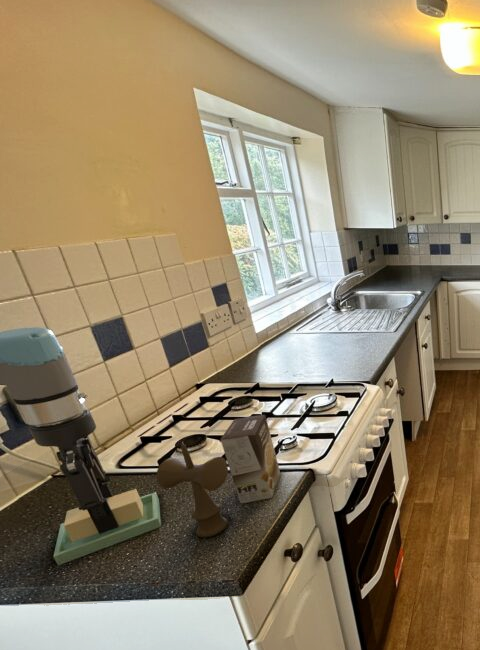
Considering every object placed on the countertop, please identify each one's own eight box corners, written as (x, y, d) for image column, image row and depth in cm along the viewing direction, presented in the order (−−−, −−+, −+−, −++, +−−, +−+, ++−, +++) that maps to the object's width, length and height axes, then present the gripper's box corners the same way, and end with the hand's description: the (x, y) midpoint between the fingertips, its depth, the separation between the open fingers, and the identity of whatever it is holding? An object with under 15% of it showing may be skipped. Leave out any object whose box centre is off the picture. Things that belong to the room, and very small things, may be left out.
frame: (58, 565, 73) (53, 556, 72) (65, 532, 80) (60, 523, 79) (161, 526, 81) (157, 518, 81) (158, 499, 89) (155, 491, 88)
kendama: (227, 542, 78) (196, 453, 70) (177, 541, 78) (141, 452, 70) (246, 519, 83) (220, 435, 76) (200, 518, 84) (169, 434, 76)
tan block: (72, 542, 75) (63, 525, 74) (75, 527, 79) (66, 511, 77) (143, 517, 81) (136, 501, 80) (142, 504, 85) (136, 488, 83)
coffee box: (273, 498, 89) (255, 435, 83) (239, 504, 87) (218, 440, 81) (281, 473, 97) (265, 414, 91) (251, 478, 95) (232, 418, 89)
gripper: (84, 430, 67) (134, 538, 76) (92, 393, 80) (134, 490, 89) (16, 446, 63) (78, 560, 71) (36, 405, 75) (86, 505, 84)
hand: (109, 521), depth 80 cm, fingers closed on tan block, 5 cm apart
